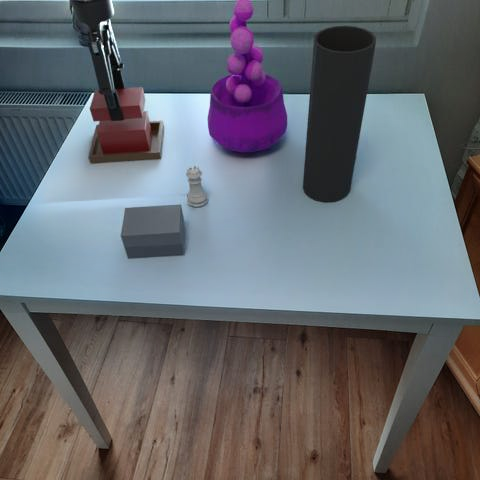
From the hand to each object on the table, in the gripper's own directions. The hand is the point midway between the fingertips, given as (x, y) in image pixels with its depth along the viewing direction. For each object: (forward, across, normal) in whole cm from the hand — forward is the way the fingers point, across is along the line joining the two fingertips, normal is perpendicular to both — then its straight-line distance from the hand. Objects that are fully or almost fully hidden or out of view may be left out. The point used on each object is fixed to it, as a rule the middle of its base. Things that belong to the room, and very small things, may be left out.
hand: (119, 109), depth 107 cm
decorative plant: (+10, 0, -29) cm, 31 cm away
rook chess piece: (+10, -22, -17) cm, 29 cm away
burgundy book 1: (0, 0, 0) cm, 0 cm away
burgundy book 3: (+9, 0, 0) cm, 9 cm away
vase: (+10, -20, -45) cm, 50 cm away
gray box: (+10, -34, -9) cm, 36 cm away
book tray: (+10, 0, 0) cm, 10 cm away
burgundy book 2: (+6, 0, 0) cm, 6 cm away
